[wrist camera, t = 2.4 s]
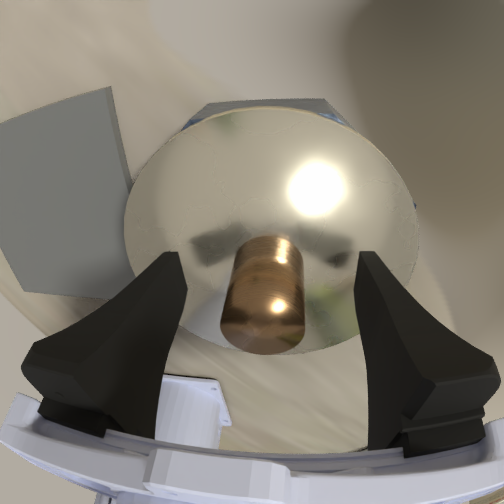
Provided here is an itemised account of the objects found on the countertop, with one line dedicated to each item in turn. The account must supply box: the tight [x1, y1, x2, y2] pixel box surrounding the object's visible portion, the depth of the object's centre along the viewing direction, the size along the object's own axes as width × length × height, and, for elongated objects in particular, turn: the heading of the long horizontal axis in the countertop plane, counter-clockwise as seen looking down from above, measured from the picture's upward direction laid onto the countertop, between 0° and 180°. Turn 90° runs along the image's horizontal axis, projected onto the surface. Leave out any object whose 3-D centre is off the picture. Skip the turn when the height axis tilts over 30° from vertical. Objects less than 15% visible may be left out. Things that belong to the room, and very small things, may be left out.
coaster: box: [0, 86, 136, 299], centre depth 17 cm, size 13×13×1 cm
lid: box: [124, 106, 419, 355], centre depth 12 cm, size 12×12×4 cm
